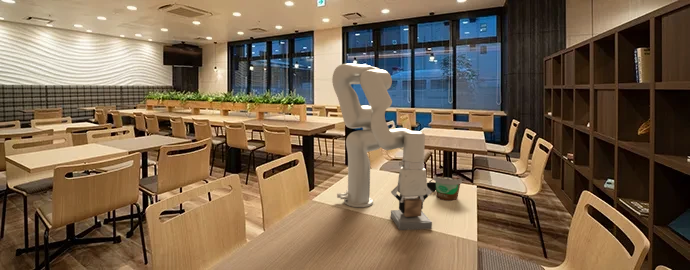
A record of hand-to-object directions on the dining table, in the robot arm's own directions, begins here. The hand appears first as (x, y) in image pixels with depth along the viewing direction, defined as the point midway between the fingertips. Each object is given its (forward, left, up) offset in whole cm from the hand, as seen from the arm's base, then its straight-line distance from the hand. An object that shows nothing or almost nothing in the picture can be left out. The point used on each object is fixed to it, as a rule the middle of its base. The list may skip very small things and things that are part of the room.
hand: (410, 210), depth 123 cm
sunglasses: (+20, +41, -5) cm, 46 cm away
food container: (+24, +22, -5) cm, 33 cm away
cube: (0, 0, -1) cm, 1 cm away
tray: (0, 0, -4) cm, 4 cm away
